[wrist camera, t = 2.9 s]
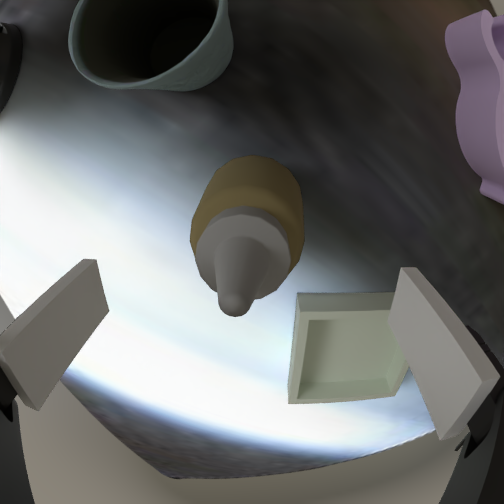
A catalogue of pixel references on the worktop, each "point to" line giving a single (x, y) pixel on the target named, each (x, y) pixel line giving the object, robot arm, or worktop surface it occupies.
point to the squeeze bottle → (248, 231)
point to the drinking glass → (151, 43)
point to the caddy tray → (344, 349)
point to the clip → (480, 96)
